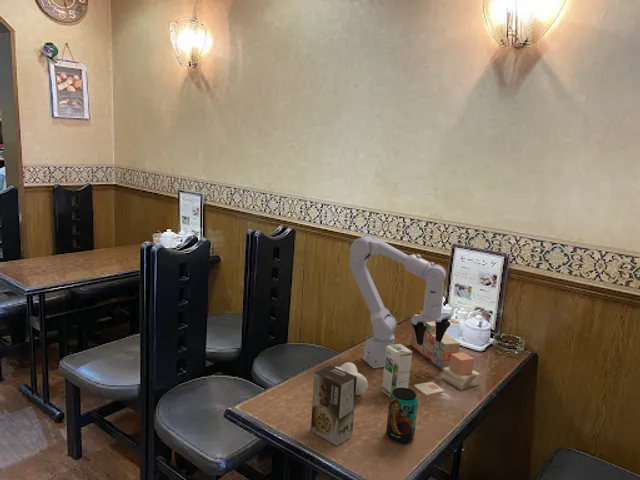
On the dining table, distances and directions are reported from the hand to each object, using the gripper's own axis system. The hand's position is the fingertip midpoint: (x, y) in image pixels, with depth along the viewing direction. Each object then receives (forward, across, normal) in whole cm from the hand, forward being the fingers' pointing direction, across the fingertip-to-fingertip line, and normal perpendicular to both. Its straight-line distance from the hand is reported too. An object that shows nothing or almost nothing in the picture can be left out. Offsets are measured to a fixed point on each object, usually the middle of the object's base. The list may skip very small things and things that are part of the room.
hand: (428, 342), depth 155 cm
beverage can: (+11, -29, -28) cm, 42 cm away
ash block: (+11, +7, -9) cm, 16 cm away
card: (+10, -6, -10) cm, 16 cm away
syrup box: (+11, -18, -9) cm, 23 cm away
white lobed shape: (+10, -33, -5) cm, 35 cm away
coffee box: (+10, -45, -21) cm, 51 cm away
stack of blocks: (+11, +11, +10) cm, 18 cm away
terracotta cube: (+7, +6, -9) cm, 13 cm away
